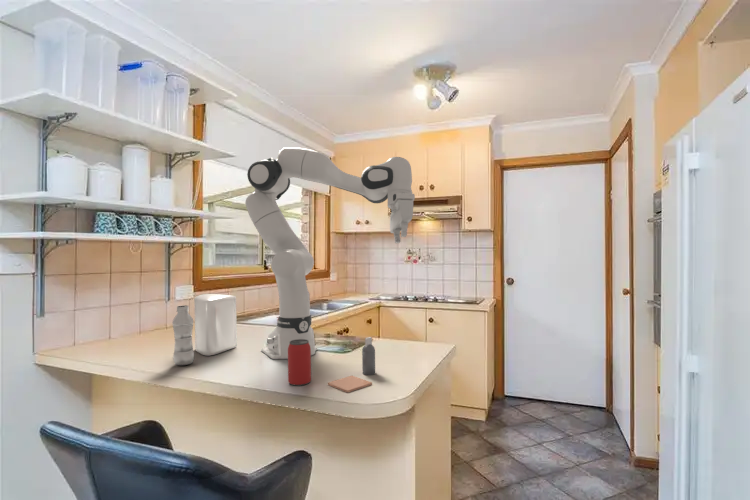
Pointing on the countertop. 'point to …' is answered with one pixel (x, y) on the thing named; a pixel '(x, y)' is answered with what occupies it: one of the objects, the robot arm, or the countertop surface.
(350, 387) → the tile
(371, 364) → the grey pump bottle
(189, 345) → the plastic bottle
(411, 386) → the countertop surface
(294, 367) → the beer can
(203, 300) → the white rounded block
